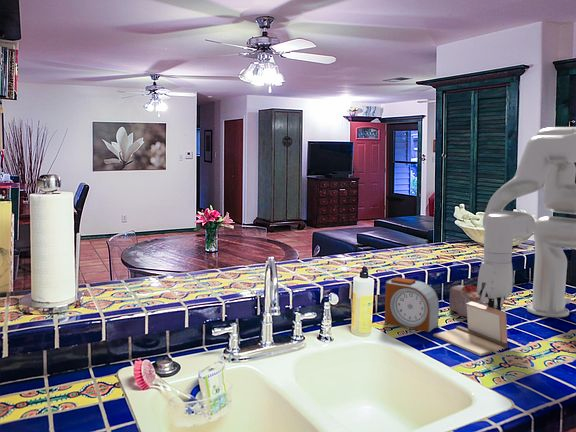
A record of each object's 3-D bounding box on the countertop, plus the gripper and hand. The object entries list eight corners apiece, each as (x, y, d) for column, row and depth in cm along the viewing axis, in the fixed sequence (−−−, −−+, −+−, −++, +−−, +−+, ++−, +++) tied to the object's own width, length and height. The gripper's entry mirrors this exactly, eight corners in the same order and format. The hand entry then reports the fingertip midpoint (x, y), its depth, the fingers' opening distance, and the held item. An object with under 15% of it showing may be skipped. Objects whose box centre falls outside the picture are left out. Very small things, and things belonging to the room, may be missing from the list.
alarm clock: (382, 323, 169) (383, 280, 167) (393, 315, 175) (394, 274, 174) (428, 332, 160) (429, 287, 158) (438, 324, 167) (439, 281, 165)
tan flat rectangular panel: (456, 330, 162) (456, 328, 162) (504, 349, 147) (504, 347, 147) (433, 336, 157) (433, 334, 157) (480, 356, 142) (480, 353, 142)
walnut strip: (459, 329, 162) (459, 325, 162) (507, 348, 148) (507, 344, 148) (456, 330, 162) (456, 326, 161) (504, 349, 147) (504, 345, 147)
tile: (473, 329, 162) (471, 301, 160) (507, 342, 151) (506, 312, 149) (467, 332, 160) (465, 303, 159) (501, 345, 150) (499, 315, 148)
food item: (492, 320, 171) (494, 289, 170) (471, 323, 168) (473, 292, 167) (464, 307, 184) (465, 279, 183) (444, 310, 181) (445, 281, 180)
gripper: (503, 252, 161) (500, 312, 163) (468, 257, 154) (465, 320, 156) (526, 257, 155) (522, 319, 157) (490, 262, 147) (486, 328, 150)
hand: (494, 319), depth 157 cm, fingers closed
